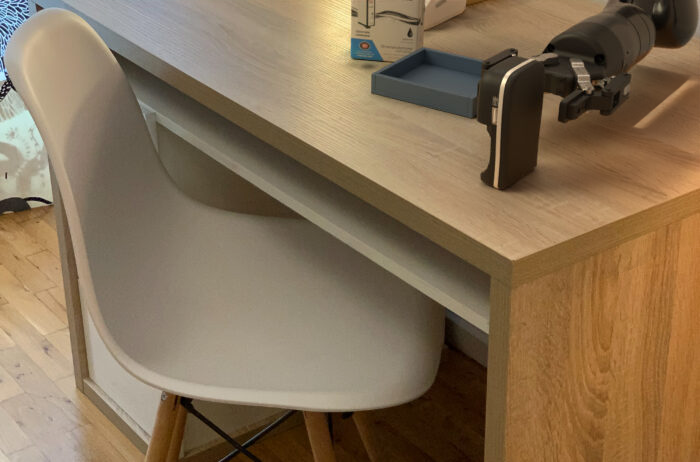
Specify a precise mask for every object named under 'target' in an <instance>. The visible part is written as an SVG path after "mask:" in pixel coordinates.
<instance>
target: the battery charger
mask: <svg viewBox="0 0 700 462" xmlns="http://www.w3.org/2000/svg"><path fill="white" fill-rule="evenodd" d="M527 58H528V57H522V56H519V55H518V56H514V57H510V58H508V59H506V60H504V61H502V62H500V63H498V64H496V65H495V66H493V67H491V68H490V69H488V70H487V71H486V72H485V73H484V74H483V76H482V78H481V81H480V87H479V94H478V104H477V115H476V122H477V123H478V124H482V125H485V126H486V131H487V133H488V135H489V137H490V145H489V146H490V151H489V161H488V163H487V167H486V169H484V170H483V171H481V172H480V175H479V178H480V181H481V182H482V183H484V184H486V185H488V186H492V187H493V188H495V189H501V190H504V189H507V188H508V187H509V186H511V185H513V184H514V183H515V182H517V181H519V180H520V179H521V178H523V177H525V176H526V175H527V174H528V173H530V172H531V171H532V170H533V169H535V168H536V167H537V166H538V157H539V156H538V154H539V145H540V134H541V124H542V116H543V107H544V96H545V94H544V83H545V68H544V65H543V63H542V62H539V61H538V60H536V59H527Z"/></svg>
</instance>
